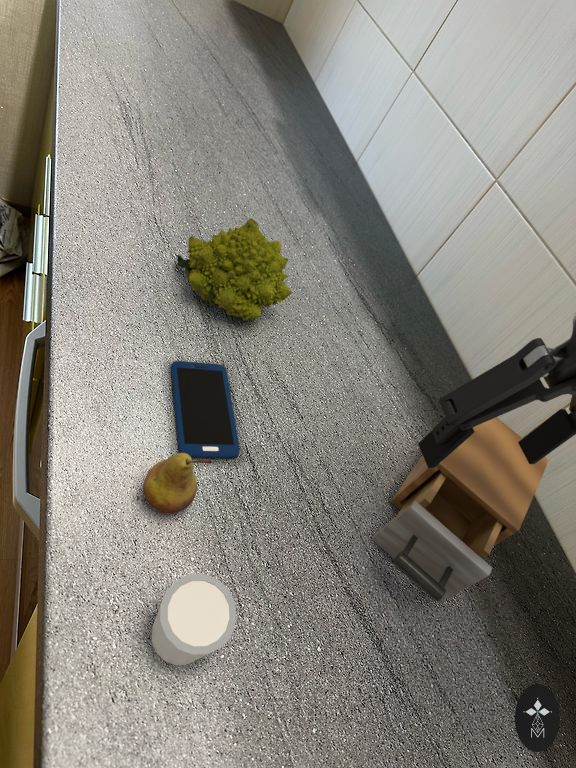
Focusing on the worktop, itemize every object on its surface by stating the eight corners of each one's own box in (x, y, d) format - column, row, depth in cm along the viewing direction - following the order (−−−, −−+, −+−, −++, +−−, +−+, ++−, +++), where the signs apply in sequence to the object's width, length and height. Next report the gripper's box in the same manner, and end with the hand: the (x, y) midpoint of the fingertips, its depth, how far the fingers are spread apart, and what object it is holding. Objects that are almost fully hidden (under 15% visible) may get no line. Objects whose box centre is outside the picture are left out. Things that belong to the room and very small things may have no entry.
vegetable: (149, 240, 80) (233, 182, 74) (215, 275, 94) (291, 227, 88) (174, 332, 75) (266, 278, 70) (240, 355, 89) (321, 311, 83)
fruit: (186, 473, 65) (215, 416, 57) (192, 520, 62) (224, 468, 53) (136, 474, 63) (159, 415, 54) (140, 523, 60) (164, 469, 51)
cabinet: (462, 564, 72) (519, 531, 64) (390, 501, 74) (436, 460, 66) (496, 496, 81) (549, 460, 74) (431, 441, 83) (476, 400, 75)
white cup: (138, 605, 55) (153, 581, 50) (206, 590, 58) (226, 566, 53) (151, 682, 51) (168, 664, 46) (223, 661, 55) (246, 643, 50)
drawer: (426, 631, 64) (475, 607, 57) (354, 565, 65) (393, 534, 59) (477, 530, 75) (522, 500, 69) (414, 476, 77) (453, 442, 70)
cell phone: (179, 458, 66) (180, 455, 65) (169, 363, 74) (171, 359, 73) (239, 459, 69) (241, 456, 68) (224, 367, 77) (225, 364, 76)
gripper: (711, 295, 51) (546, 424, 66) (506, 259, 40) (365, 423, 55) (769, 361, 47) (579, 482, 62) (558, 341, 36) (391, 493, 51)
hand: (478, 454), depth 59 cm, fingers open, 13 cm apart
